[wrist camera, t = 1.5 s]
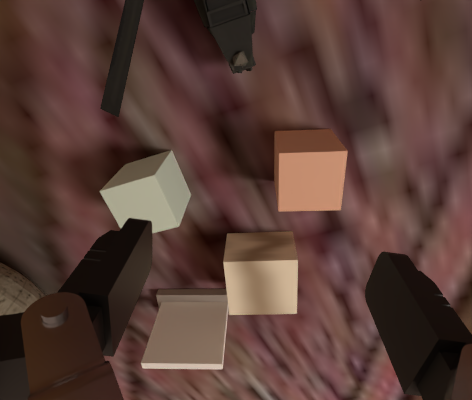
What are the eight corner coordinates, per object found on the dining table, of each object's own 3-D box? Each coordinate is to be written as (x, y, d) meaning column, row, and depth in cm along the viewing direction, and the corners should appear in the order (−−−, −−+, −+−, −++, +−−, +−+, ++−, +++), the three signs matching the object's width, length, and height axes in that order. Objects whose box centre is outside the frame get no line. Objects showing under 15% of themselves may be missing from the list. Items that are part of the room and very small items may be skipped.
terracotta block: (330, 128, 29) (347, 151, 24) (325, 179, 31) (340, 210, 26) (274, 131, 29) (279, 153, 24) (274, 180, 31) (278, 211, 26)
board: (232, 288, 38) (226, 356, 30) (233, 307, 40) (228, 376, 32) (158, 289, 39) (133, 355, 31) (162, 307, 40) (139, 375, 32)
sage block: (171, 149, 30) (154, 175, 25) (191, 194, 33) (179, 226, 27) (125, 164, 31) (99, 191, 26) (147, 206, 34) (127, 239, 28)
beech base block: (292, 230, 34) (297, 260, 30) (291, 280, 37) (296, 313, 33) (227, 232, 35) (223, 262, 30) (232, 281, 38) (229, 314, 34)
